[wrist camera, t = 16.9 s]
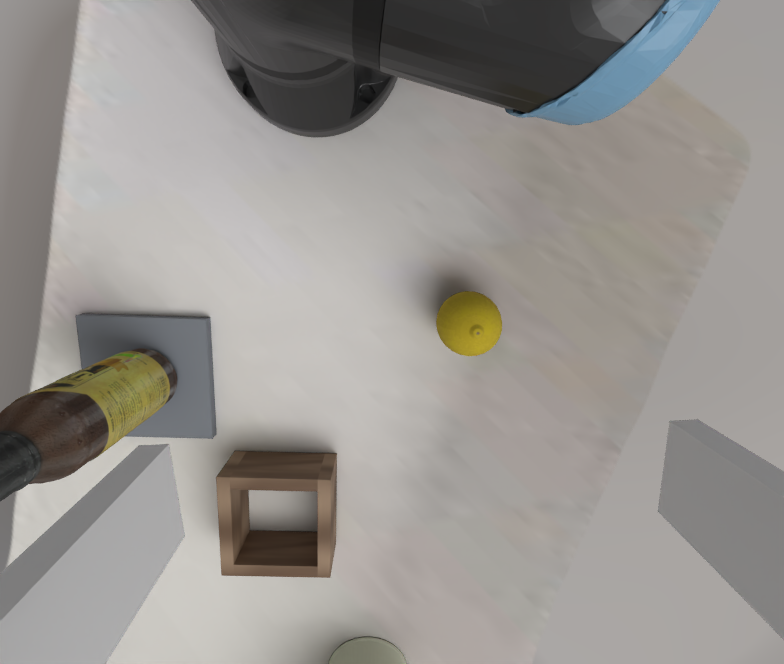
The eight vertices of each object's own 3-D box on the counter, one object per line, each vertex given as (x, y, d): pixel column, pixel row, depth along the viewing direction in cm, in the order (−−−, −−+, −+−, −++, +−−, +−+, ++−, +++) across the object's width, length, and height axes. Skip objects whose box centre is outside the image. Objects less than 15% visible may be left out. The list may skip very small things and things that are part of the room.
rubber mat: (82, 313, 41) (75, 315, 40) (210, 317, 41) (205, 319, 40) (96, 430, 44) (89, 435, 43) (216, 434, 44) (212, 438, 43)
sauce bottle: (146, 332, 41) (-73, 418, 21) (194, 381, 42) (26, 506, 22) (99, 373, 41) (-155, 493, 22) (147, 421, 42) (-55, 575, 23)
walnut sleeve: (234, 450, 44) (216, 477, 39) (336, 453, 45) (330, 480, 40) (238, 540, 46) (221, 575, 42) (335, 542, 47) (330, 577, 42)
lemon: (428, 339, 42) (437, 362, 34) (436, 283, 41) (448, 293, 33) (484, 346, 42) (506, 370, 35) (494, 290, 41) (519, 302, 33)
